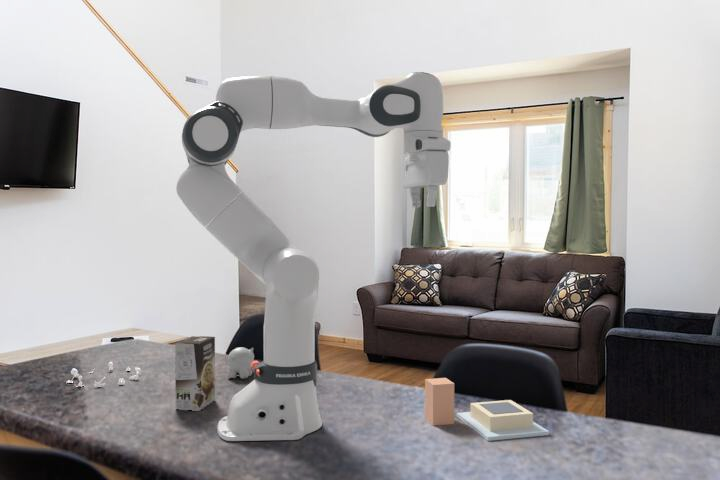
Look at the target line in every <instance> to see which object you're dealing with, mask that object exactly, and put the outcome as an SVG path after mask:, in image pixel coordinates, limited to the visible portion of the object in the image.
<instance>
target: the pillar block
mask: <svg viewBox="0 0 720 480" xmlns="http://www.w3.org/2000/svg"><path fill="white" fill-rule="evenodd" d="M424 419H425V421H427V422H428V423H429V424H430V425H431V426H434V427H435V426H445V425H454V424H455V383H454V382H453V381H451V380H450V379H448V378H447V377H438V378H426V379H425V378H424Z"/></svg>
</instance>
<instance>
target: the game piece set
mask: <svg viewBox="0 0 720 480" xmlns="http://www.w3.org/2000/svg"><path fill="white" fill-rule="evenodd" d="M108 369H109V370H108V371H110V370H112V371H113V369H114V363H113V362H112V361H110V362H109V363H108ZM95 370H96V369H95V368H93V370H92V371H89V372H88V373H93V374H94V371H95ZM130 370H131V371H132V369H131V368H130V366H127V368H126V369H125V371H130ZM134 370H135V374H136V375H135V374H134V375H131V376H129V379H130V380H131V379H132V380H134V379H136V380H137V379H139V376H140V375H141V367H134ZM70 374H71V375H73V377H72V379H71V380H69V379H68V380H67V381H66V384H67V383H73V382H74V381H73V380H74V377H77V379H78V380H79V382H78V383H77V384H76V385H75V387H78V386H81V387H82V386H85V383H83V381H82V379H83V376H82V375H81V374H79V371H78V370H77V369H76V368H72V369H71V370H70ZM138 374H140V375H138ZM104 379H105V380H106V376H103V378H101V380H100V381H98V382H97V381H96V380H94V387H101V386H103V387H104V386H105V385H106V382H103V381H104ZM102 382H103V383H102ZM118 384H125V385H126V382H125V379H124V378H119V379H118Z"/></svg>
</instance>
